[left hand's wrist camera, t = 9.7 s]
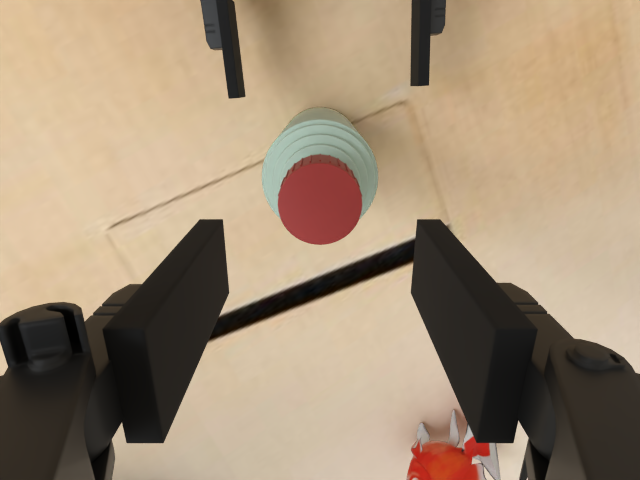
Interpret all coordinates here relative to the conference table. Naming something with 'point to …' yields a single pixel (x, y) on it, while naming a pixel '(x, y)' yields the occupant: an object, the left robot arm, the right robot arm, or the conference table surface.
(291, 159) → the bottle
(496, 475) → the fish
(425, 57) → the right robot arm
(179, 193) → the conference table surface
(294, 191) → the cap
